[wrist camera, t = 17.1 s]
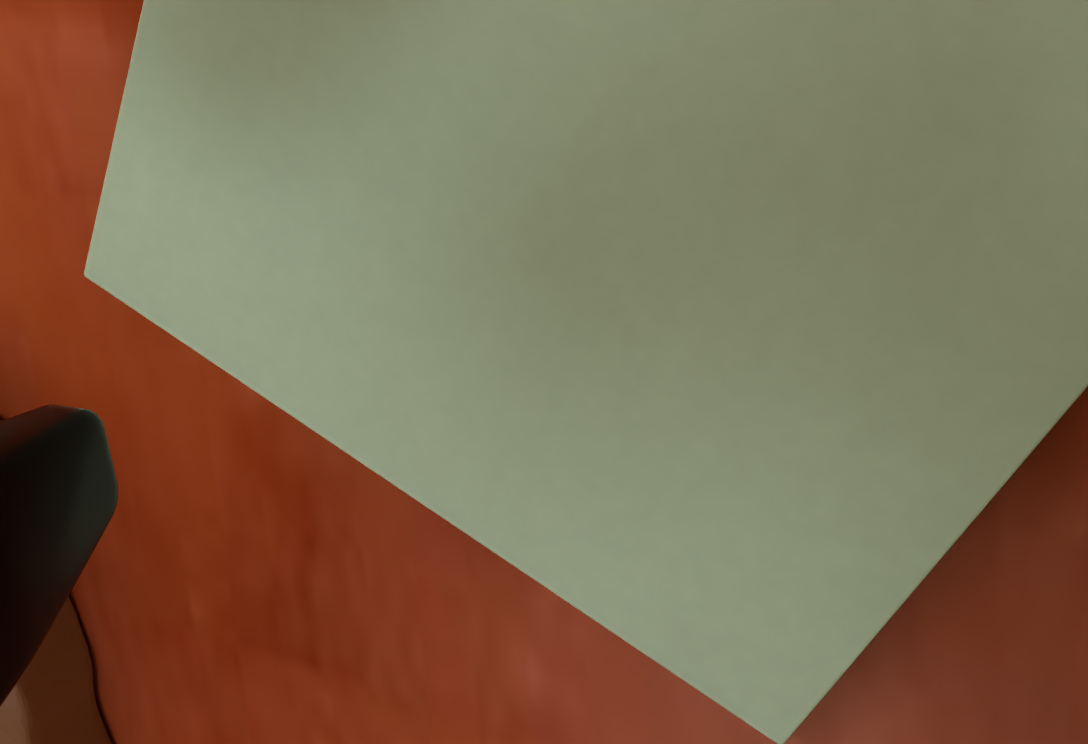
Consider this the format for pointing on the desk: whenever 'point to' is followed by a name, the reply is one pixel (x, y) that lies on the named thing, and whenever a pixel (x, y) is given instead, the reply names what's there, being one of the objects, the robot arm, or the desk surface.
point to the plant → (55, 692)
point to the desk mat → (636, 282)
